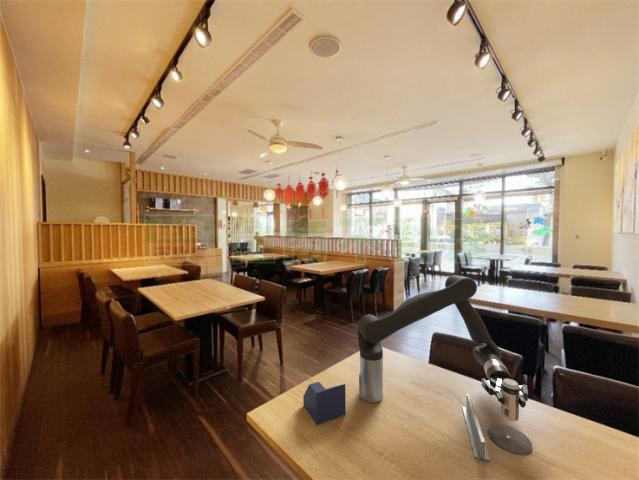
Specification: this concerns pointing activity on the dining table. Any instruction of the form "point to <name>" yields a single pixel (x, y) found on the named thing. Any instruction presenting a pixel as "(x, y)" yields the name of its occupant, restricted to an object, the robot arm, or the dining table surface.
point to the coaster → (509, 439)
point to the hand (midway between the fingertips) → (513, 403)
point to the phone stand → (325, 402)
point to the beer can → (510, 399)
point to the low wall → (475, 432)
